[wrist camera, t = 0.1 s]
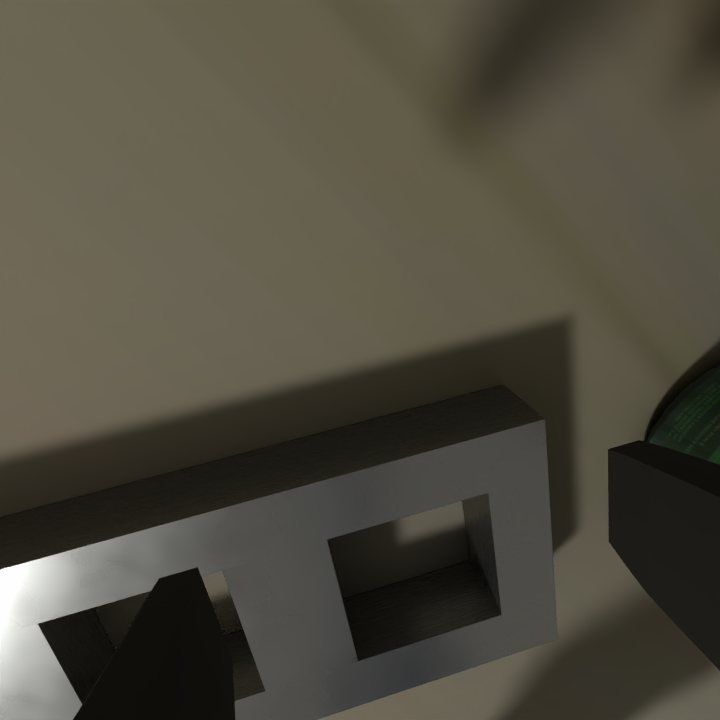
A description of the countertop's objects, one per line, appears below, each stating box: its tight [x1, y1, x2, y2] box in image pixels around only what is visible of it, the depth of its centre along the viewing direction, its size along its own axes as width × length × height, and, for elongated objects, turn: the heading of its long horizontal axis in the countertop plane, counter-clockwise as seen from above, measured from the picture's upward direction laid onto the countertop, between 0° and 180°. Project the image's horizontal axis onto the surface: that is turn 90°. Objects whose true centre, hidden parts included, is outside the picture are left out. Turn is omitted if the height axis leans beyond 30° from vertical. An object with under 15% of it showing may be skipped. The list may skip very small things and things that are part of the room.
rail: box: [0, 385, 558, 720], centre depth 19 cm, size 10×28×3 cm, turn 100°
